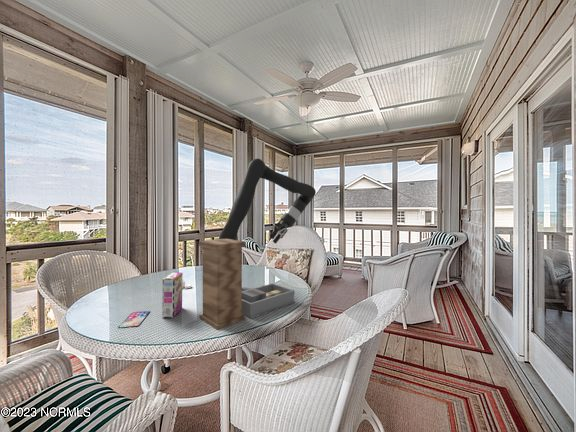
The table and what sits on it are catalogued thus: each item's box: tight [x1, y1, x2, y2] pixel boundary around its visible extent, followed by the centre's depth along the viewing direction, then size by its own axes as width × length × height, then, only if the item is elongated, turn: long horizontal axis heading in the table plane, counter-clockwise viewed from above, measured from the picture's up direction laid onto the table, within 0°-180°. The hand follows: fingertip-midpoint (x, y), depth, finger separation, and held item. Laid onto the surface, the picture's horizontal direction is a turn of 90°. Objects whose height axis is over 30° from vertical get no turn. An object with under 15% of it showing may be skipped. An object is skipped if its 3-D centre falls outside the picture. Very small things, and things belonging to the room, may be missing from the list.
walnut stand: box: [198, 238, 246, 330], centre depth 107 cm, size 13×14×32 cm
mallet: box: [242, 288, 282, 303], centre depth 124 cm, size 20×8×6 cm, turn 134°
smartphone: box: [117, 310, 151, 329], centre depth 107 cm, size 8×1×15 cm
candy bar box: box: [161, 272, 183, 319], centre depth 113 cm, size 11×5×16 cm, turn 5°
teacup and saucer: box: [182, 280, 193, 291], centre depth 148 cm, size 9×8×4 cm
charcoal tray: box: [242, 283, 295, 319], centre depth 123 cm, size 26×16×6 cm, turn 135°
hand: (272, 240), depth 138 cm, fingers open, 8 cm apart
